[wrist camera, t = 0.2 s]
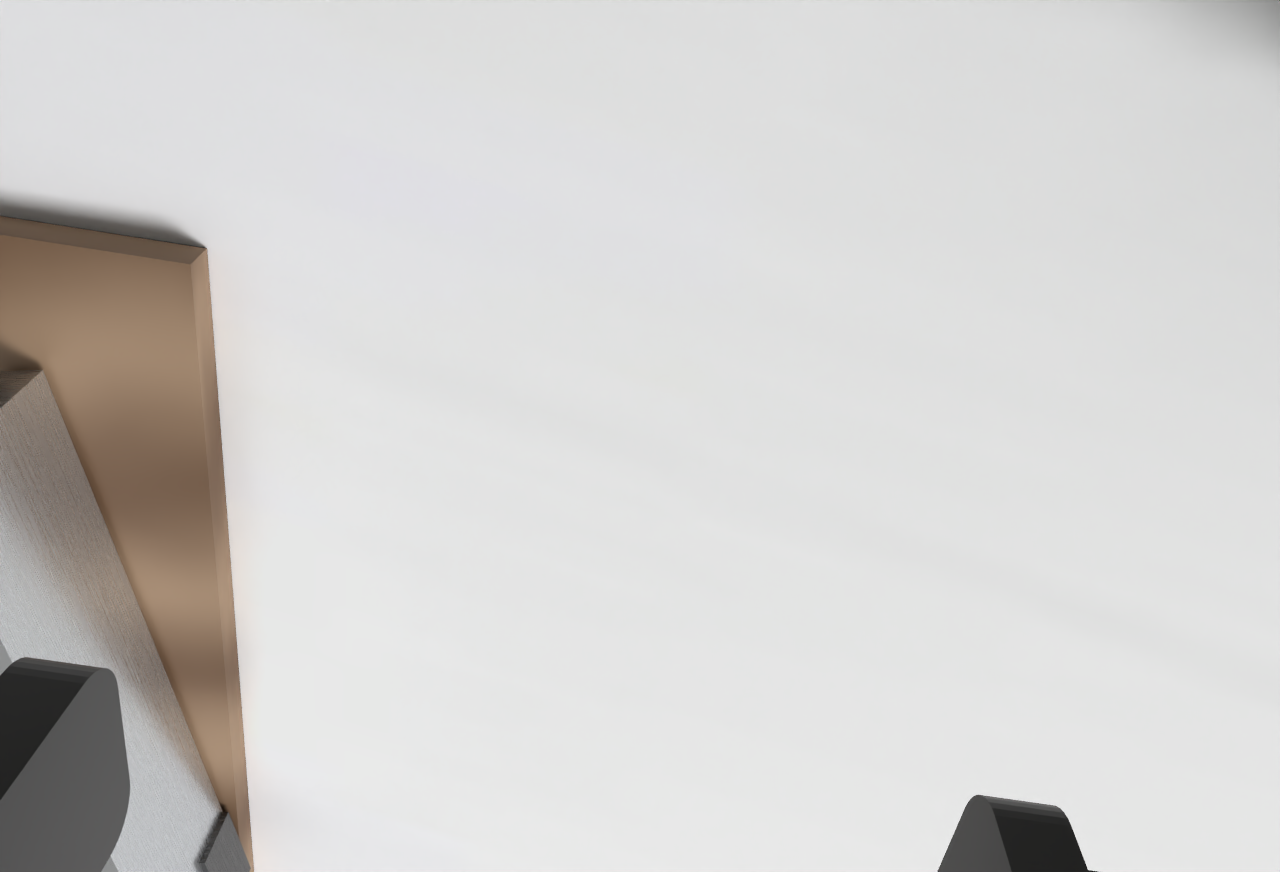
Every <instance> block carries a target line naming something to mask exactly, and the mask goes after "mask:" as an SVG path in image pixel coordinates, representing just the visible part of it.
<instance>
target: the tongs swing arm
mask: <svg viewBox="0 0 1280 872" xmlns="http://www.w3.org/2000/svg"><path fill="white" fill-rule="evenodd" d="M24 657H30V658H37V659H44V660H51V661H58V662H65V663H72V664H80V665H87V666H94V667H101V668H108V669H110V670H111V671H112V672H113V673H114V674H115V677H116V679H117V684H118V691H119V699H120V706H121V714H122V722H123V730H124V738H125V746H126V753H127V761H128V769H129V777H130V797H129V804H128V810H127V814H126V818H125V822H124V825H123V828H122V831H121V834H120V836H119V839H118V841H117V844H116V846H115V848H114V850H113V852H112V854H111V856H110V858H109V859H108V861H107V863H106V865H105V866H104V868H103V870H102V872H250V869H251V867H250V864H249V862H248V859H247V857H246V854H245V852H244V849H243V847H242V844H241V842H240V839H239V837H238V834H237V832H236V829H235V827H234V825H233V822H232V820H231V817H230V815H229V812H223V811H222V809H221V806H220V804H219V802H218V799H217V797H216V794H215V792H214V789H213V787H212V784H211V782H210V779H209V777H208V775H207V772H206V770H205V767H204V765H203V762H202V760H201V757H200V755H199V752H198V750H197V747H196V745H195V743H194V740H193V738H192V735H191V733H190V730H189V728H188V725H187V723H186V720H185V718H184V716H183V713H182V711H181V708H180V706H179V703H178V701H177V698H176V696H175V693H174V691H173V688H172V686H171V684H170V681H169V679H168V676H167V674H166V671H165V669H164V666H163V664H162V661H161V659H160V657H159V654H158V652H157V649H156V647H155V644H154V642H153V639H152V637H151V634H150V632H149V630H148V627H147V625H146V622H145V620H144V617H143V615H142V612H141V610H140V607H139V605H138V602H137V600H136V598H135V595H134V593H133V590H132V588H131V585H130V583H129V580H128V578H127V575H126V573H125V571H124V568H123V566H122V563H121V561H120V558H119V556H118V553H117V551H116V548H115V546H114V544H113V541H112V539H111V536H110V534H109V531H108V529H107V526H106V524H105V521H104V519H103V516H102V514H101V512H100V509H99V507H98V504H97V502H96V499H95V497H94V494H93V492H92V489H91V487H90V485H89V482H88V480H87V477H86V475H85V472H84V470H83V467H82V465H81V462H80V460H79V457H78V455H77V453H76V450H75V448H74V445H73V443H72V440H71V438H70V435H69V433H68V430H67V428H66V426H65V423H64V421H63V418H62V416H61V413H60V411H59V408H58V406H57V403H56V401H55V399H54V396H53V394H52V391H51V389H50V386H49V384H48V381H47V379H46V376H45V374H44V371H43V370H23V371H0V675H1V674H2V673H3V672H4V671H5V670H6V669H7V667H8V666H9V665H11V664H12V663H13V662H14V661H16V660H18V659H20V658H24Z"/></svg>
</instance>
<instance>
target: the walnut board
mask: <svg viewBox="0 0 1280 872" xmlns="http://www.w3.org/2000/svg"><path fill="white" fill-rule="evenodd" d="M23 370H43V371H44V374H45V376H46V379H47V381H48V384H49V386H50V389H51V391H52V394H53V396H54V399H55V401H56V403H57V406H58V408H59V411H60V413H61V416H62V418H63V421H64V423H65V426H66V428H67V430H68V433H69V435H70V438H71V440H72V443H73V445H74V448H75V450H76V453H77V455H78V457H79V460H80V462H81V465H82V467H83V470H84V472H85V475H86V477H87V480H88V482H89V485H90V487H91V489H92V492H93V494H94V497H95V499H96V502H97V504H98V507H99V509H100V512H101V514H102V516H103V519H104V521H105V524H106V526H107V529H108V531H109V534H110V536H111V539H112V541H113V544H114V546H115V548H116V551H117V553H118V556H119V558H120V561H121V563H122V566H123V568H124V571H125V573H126V575H127V578H128V580H129V583H130V585H131V588H132V590H133V593H134V595H135V598H136V600H137V602H138V605H139V607H140V610H141V612H142V615H143V617H144V620H145V622H146V625H147V627H148V630H149V632H150V634H151V637H152V639H153V642H154V644H155V647H156V649H157V652H158V654H159V657H160V659H161V661H162V664H163V666H164V669H165V671H166V674H167V676H168V679H169V681H170V684H171V686H172V688H173V691H174V693H175V696H176V698H177V701H178V703H179V706H180V708H181V711H182V713H183V716H184V718H185V720H186V723H187V725H188V728H189V730H190V733H191V735H192V738H193V740H194V743H195V745H196V747H197V750H198V752H199V755H200V757H201V760H202V762H203V765H204V767H205V770H206V772H207V775H208V777H209V779H210V782H211V784H212V787H213V789H214V792H215V794H216V797H217V799H218V802H219V804H220V806H221V809H222V811H223V812H229V815H230V817H231V820H232V822H233V825H234V827H235V829H236V832H237V834H238V837H239V839H240V842H241V844H242V847H243V849H244V852H245V854H246V857H247V859H248V862H249V864H250V867H251V869H250V872H254V867H253V853H252V840H251V827H250V814H249V800H248V787H247V774H246V760H245V747H244V734H243V721H242V707H241V694H240V681H239V668H238V654H237V641H236V628H235V615H234V601H233V588H232V575H231V561H230V548H229V535H228V522H227V508H226V495H225V482H224V469H223V455H222V442H221V429H220V416H219V402H218V389H217V376H216V362H215V349H214V336H213V323H212V309H211V296H210V283H209V270H208V256H207V248H200V247H194V246H188V245H181V244H175V243H169V242H162V241H156V240H150V239H143V238H137V237H130V236H124V235H118V234H111V233H105V232H99V231H92V230H86V229H80V228H73V227H67V226H60V225H54V224H48V223H41V222H35V221H29V220H22V219H16V218H10V217H3V216H0V371H23Z"/></svg>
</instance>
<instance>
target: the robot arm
mask: <svg viewBox="0 0 1280 872" xmlns="http://www.w3.org/2000/svg"><path fill="white" fill-rule="evenodd" d="M129 797H130V777H129V769H128V761H127V753H126V746H125V738H124V730H123V722H122V714H121V706H120V699H119V691H118V684H117V679H116V677H115V674H114V673H113V672H112V671H111V670H110V669H108V668H101V667H94V666H87V665H80V664H72V663H65V662H58V661H51V660H44V659H37V658H30V657H24V658H20V659H18V660H16V661H14V662H13V663H12V664H11V665H9V666H8V667H7V669H6V670H5V671H4V672H3V673H2V674H1V675H0V872H102V870H103V868H104V866H105V865H106V863H107V861H108V859H109V858H110V856H111V854H112V852H113V850H114V848H115V846H116V844H117V841H118V839H119V836H120V834H121V831H122V828H123V825H124V822H125V818H126V814H127V810H128V804H129ZM938 872H1097V871H1090V870H1088V869H1087V866H1086V864H1085V861H1084V859H1083V856H1082V853H1081V851H1080V848H1079V845H1078V843H1077V840H1076V837H1075V835H1074V832H1073V830H1072V827H1071V825H1070V822H1069V820H1068V818H1067V817H1066V815H1065V813H1064V812H1063V811H1062V810H1061V809H1060V808H1058V807H1057V806H1053V805H1046V804H1039V803H1032V802H1025V801H1018V800H1011V799H1004V798H997V797H990V796H983V795H976V796H974V797H973V798H971V799H970V801H969V802H968V804H967V805H966V807H965V809H964V812H963V814H962V816H961V819H960V821H959V823H958V826H957V828H956V830H955V833H954V835H953V837H952V839H951V842H950V844H949V846H948V849H947V851H946V853H945V856H944V858H943V860H942V863H941V865H940V867H939V870H938Z"/></svg>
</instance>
